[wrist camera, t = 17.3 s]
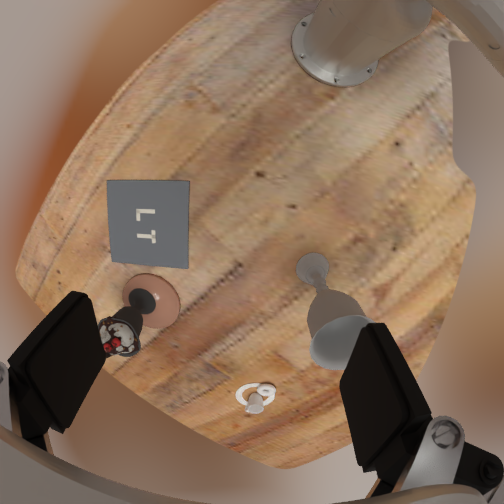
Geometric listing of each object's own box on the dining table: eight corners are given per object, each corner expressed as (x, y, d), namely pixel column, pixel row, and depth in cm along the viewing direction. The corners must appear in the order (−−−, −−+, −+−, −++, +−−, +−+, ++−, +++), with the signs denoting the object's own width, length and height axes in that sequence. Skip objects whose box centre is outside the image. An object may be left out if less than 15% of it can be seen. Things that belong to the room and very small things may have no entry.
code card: (107, 180, 36) (106, 180, 36) (189, 181, 37) (189, 181, 37) (112, 261, 41) (111, 261, 41) (188, 268, 41) (188, 269, 41)
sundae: (155, 282, 41) (117, 340, 27) (164, 318, 44) (135, 382, 30) (119, 283, 41) (74, 336, 27) (130, 317, 44) (93, 376, 30)
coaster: (121, 270, 42) (119, 272, 41) (179, 276, 42) (177, 278, 41) (128, 321, 45) (127, 324, 44) (181, 329, 45) (180, 331, 44)
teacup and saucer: (270, 376, 50) (271, 391, 46) (283, 398, 52) (285, 413, 48) (229, 386, 51) (227, 401, 47) (245, 408, 53) (244, 422, 50)
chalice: (283, 284, 42) (299, 367, 25) (295, 242, 40) (323, 310, 23) (328, 292, 43) (364, 371, 26) (341, 252, 40) (392, 319, 23)
